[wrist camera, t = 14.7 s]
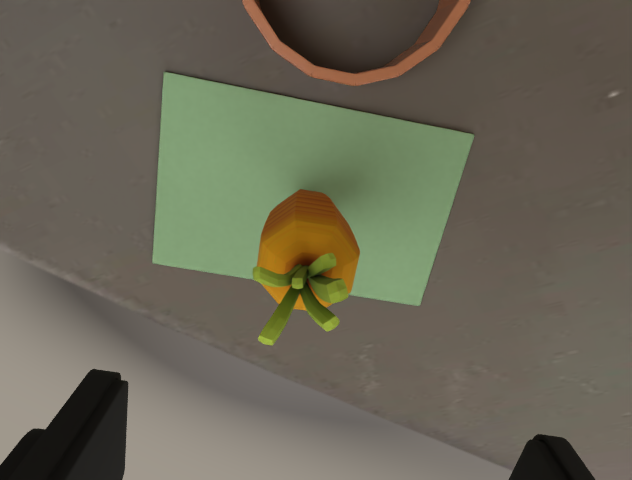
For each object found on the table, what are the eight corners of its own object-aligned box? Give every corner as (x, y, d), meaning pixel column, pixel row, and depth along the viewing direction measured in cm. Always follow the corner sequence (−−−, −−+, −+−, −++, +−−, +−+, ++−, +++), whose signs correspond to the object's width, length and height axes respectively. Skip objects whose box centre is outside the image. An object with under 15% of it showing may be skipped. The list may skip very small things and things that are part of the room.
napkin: (473, 134, 28) (474, 134, 28) (418, 304, 32) (419, 306, 32) (165, 71, 26) (163, 71, 26) (153, 261, 30) (152, 263, 30)
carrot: (280, 242, 30) (259, 389, 16) (261, 175, 28) (219, 273, 14) (349, 227, 30) (388, 362, 16) (334, 158, 28) (365, 241, 14)
